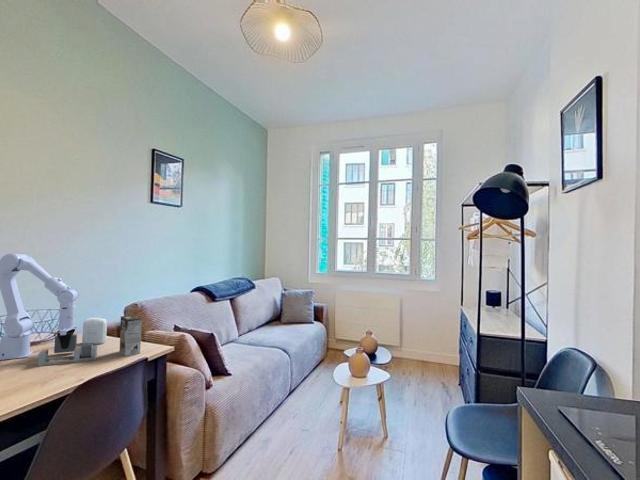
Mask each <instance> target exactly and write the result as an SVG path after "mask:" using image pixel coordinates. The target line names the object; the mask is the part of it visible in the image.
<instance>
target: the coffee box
mask: <svg viewBox="0 0 640 480" xmlns="http://www.w3.org/2000/svg"><path fill="white" fill-rule="evenodd" d="M142 321H143V320H142V317H140V316H138V315H136V314H133V315H123V316H120V325H119V326H120V328H119V329H120V330H119V331H120V332H119V352H120V353H121V354H122V355H124V356H125V357H128V356H133V355H138V354H137V353H139V354H140V353H141V345H142V344H141V342H142V325H143V324H142V323H143V322H142Z"/></svg>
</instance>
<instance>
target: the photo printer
mask: <svg viewBox="0 0 640 480" xmlns="http://www.w3.org/2000/svg"><path fill="white" fill-rule="evenodd" d="M107 327H108V320H107V319H105V318H103V317H102V318H101V317H89V318H87V319H85V320H84V321H83V323H82V339H81V343H82V345H83V344H92V345H99V344H100V345H101V344H103V345H104V344H106V342H107V330H108V329H107Z"/></svg>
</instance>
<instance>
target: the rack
mask: <svg viewBox="0 0 640 480" xmlns="http://www.w3.org/2000/svg"><path fill="white" fill-rule="evenodd" d="M97 356H98V344H83V343H82V344H81V346H79V345H78V346H76V348H75V350H74V352H73V355H69V356H58V357H49V348H45V349H41V350H40V352H38V357H37V358H38V359H37V361H38V362H37V366H38V367H45V366H53V365H62V364H63V365H64V364H70V363H71V364H72V363H80V362H87V361H89V362H90V361H95V360H96V359H97Z"/></svg>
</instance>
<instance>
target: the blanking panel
mask: <svg viewBox="0 0 640 480" xmlns="http://www.w3.org/2000/svg"><path fill="white" fill-rule="evenodd" d="M77 343H78V334H74V333H73V334H72V336H71V338H70V342H69V346H68V348H67V349H62V348H61V343H60V340H59V338H58V336H57V335H55V336H54V350H53V353H54V354H62V353H63V354H64V353H70V352H71V353H72V352H73V353H74V350H75V348H76V347H77Z"/></svg>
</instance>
